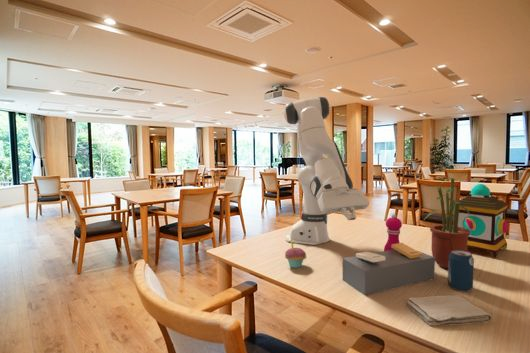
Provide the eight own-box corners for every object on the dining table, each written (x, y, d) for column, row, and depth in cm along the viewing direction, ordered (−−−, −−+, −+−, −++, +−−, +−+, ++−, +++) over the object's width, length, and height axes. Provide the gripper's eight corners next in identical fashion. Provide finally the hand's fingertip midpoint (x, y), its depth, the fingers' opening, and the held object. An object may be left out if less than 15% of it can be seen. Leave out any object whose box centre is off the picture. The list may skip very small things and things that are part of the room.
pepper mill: (401, 259, 123) (402, 212, 121) (403, 265, 116) (404, 216, 114) (383, 257, 125) (383, 211, 123) (384, 263, 118) (384, 215, 116)
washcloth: (403, 305, 88) (403, 296, 87) (458, 300, 90) (458, 291, 89) (430, 329, 76) (431, 318, 76) (492, 323, 78) (493, 312, 78)
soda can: (478, 290, 95) (479, 254, 94) (461, 293, 93) (463, 257, 92) (458, 281, 101) (459, 247, 100) (442, 284, 99) (443, 250, 98)
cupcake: (292, 271, 113) (291, 241, 112) (281, 264, 120) (280, 235, 119) (310, 267, 117) (310, 237, 116) (298, 260, 124) (298, 232, 123)
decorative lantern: (511, 249, 131) (515, 183, 128) (499, 260, 119) (502, 187, 116) (460, 239, 147) (462, 180, 144) (444, 248, 134) (447, 183, 132)
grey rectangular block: (342, 279, 105) (342, 256, 104) (407, 266, 115) (407, 245, 114) (364, 295, 93) (364, 269, 93) (434, 279, 104) (435, 255, 103)
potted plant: (473, 275, 106) (477, 179, 103) (425, 269, 112) (427, 178, 108) (460, 258, 123) (463, 175, 119) (418, 254, 128) (420, 174, 125)
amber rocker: (391, 247, 109) (391, 244, 109) (401, 245, 111) (402, 242, 111) (410, 258, 101) (410, 255, 101) (421, 256, 103) (421, 253, 102)
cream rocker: (356, 256, 104) (355, 253, 104) (367, 254, 106) (367, 251, 106) (373, 262, 95) (372, 258, 95) (385, 260, 97) (385, 256, 97)
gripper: (355, 193, 122) (371, 220, 114) (312, 196, 115) (325, 226, 107) (362, 183, 118) (379, 211, 109) (317, 186, 111) (332, 217, 102)
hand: (352, 219), depth 108 cm, fingers closed
